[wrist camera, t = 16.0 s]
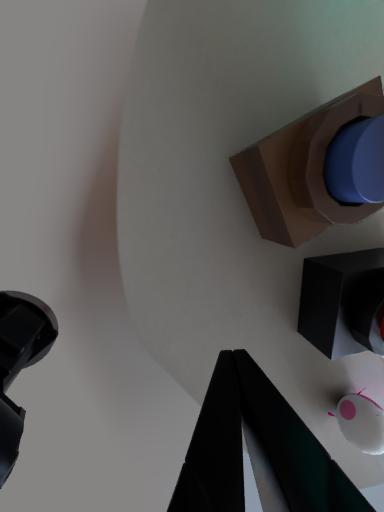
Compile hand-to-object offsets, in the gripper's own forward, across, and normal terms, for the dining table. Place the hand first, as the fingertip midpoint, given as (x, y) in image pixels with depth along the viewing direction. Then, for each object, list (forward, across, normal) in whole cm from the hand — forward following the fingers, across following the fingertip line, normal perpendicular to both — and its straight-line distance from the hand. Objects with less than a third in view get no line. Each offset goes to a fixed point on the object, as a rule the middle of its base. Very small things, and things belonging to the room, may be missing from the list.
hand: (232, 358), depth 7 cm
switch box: (+17, -15, +9) cm, 24 cm away
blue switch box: (+16, -8, -5) cm, 18 cm away
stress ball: (+16, -17, +27) cm, 36 cm away
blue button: (+10, -10, -5) cm, 15 cm away
